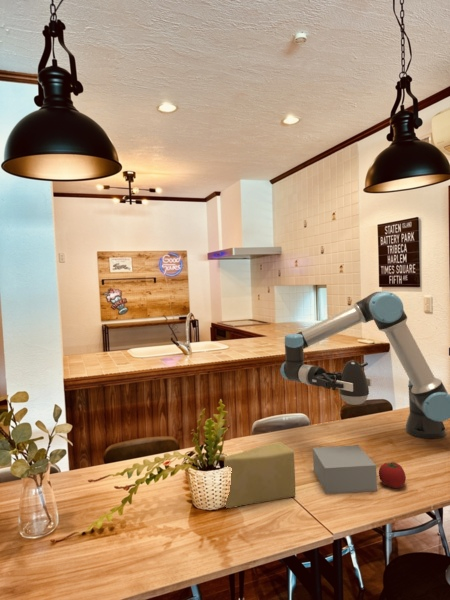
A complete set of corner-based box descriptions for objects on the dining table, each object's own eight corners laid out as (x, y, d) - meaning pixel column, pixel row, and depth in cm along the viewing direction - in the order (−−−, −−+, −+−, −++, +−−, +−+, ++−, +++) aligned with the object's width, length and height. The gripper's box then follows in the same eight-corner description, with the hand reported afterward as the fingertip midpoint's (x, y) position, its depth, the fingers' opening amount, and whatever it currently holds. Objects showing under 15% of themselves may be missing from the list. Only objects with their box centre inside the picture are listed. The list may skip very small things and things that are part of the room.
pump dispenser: (374, 406, 135) (372, 362, 135) (343, 407, 135) (342, 363, 135) (364, 398, 145) (363, 357, 145) (336, 399, 146) (334, 358, 145)
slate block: (358, 467, 138) (357, 445, 138) (377, 490, 122) (376, 465, 122) (313, 470, 138) (312, 447, 138) (326, 493, 122) (324, 468, 122)
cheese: (231, 516, 112) (228, 464, 112) (218, 500, 121) (216, 452, 121) (297, 497, 120) (295, 449, 120) (281, 484, 129) (279, 438, 129)
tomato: (406, 493, 120) (405, 469, 120) (378, 488, 123) (377, 465, 123) (406, 481, 127) (405, 458, 127) (379, 477, 130) (378, 455, 130)
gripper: (331, 380, 162) (380, 389, 144) (293, 389, 149) (341, 401, 131) (331, 362, 162) (379, 369, 144) (292, 370, 149) (340, 379, 131)
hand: (361, 384), depth 137 cm, fingers closed on pump dispenser, 10 cm apart
